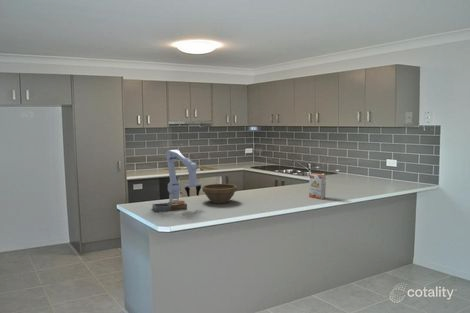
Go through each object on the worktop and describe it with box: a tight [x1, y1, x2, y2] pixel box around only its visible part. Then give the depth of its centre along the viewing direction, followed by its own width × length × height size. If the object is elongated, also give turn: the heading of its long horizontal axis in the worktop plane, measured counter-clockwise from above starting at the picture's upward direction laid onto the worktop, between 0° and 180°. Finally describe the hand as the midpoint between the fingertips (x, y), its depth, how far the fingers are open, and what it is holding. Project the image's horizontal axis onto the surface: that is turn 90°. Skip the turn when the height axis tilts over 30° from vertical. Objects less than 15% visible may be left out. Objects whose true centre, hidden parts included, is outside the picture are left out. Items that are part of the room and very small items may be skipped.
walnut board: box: [167, 201, 188, 211], centre depth 320 cm, size 12×12×4 cm
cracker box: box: [308, 172, 327, 200], centre depth 360 cm, size 14×6×21 cm, turn 37°
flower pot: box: [202, 183, 238, 204], centre depth 344 cm, size 28×28×13 cm
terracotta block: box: [178, 199, 185, 204], centre depth 318 cm, size 4×4×2 cm
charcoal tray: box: [152, 202, 172, 213], centre depth 315 cm, size 12×12×4 cm
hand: (193, 196), depth 319 cm, fingers open, 7 cm apart
